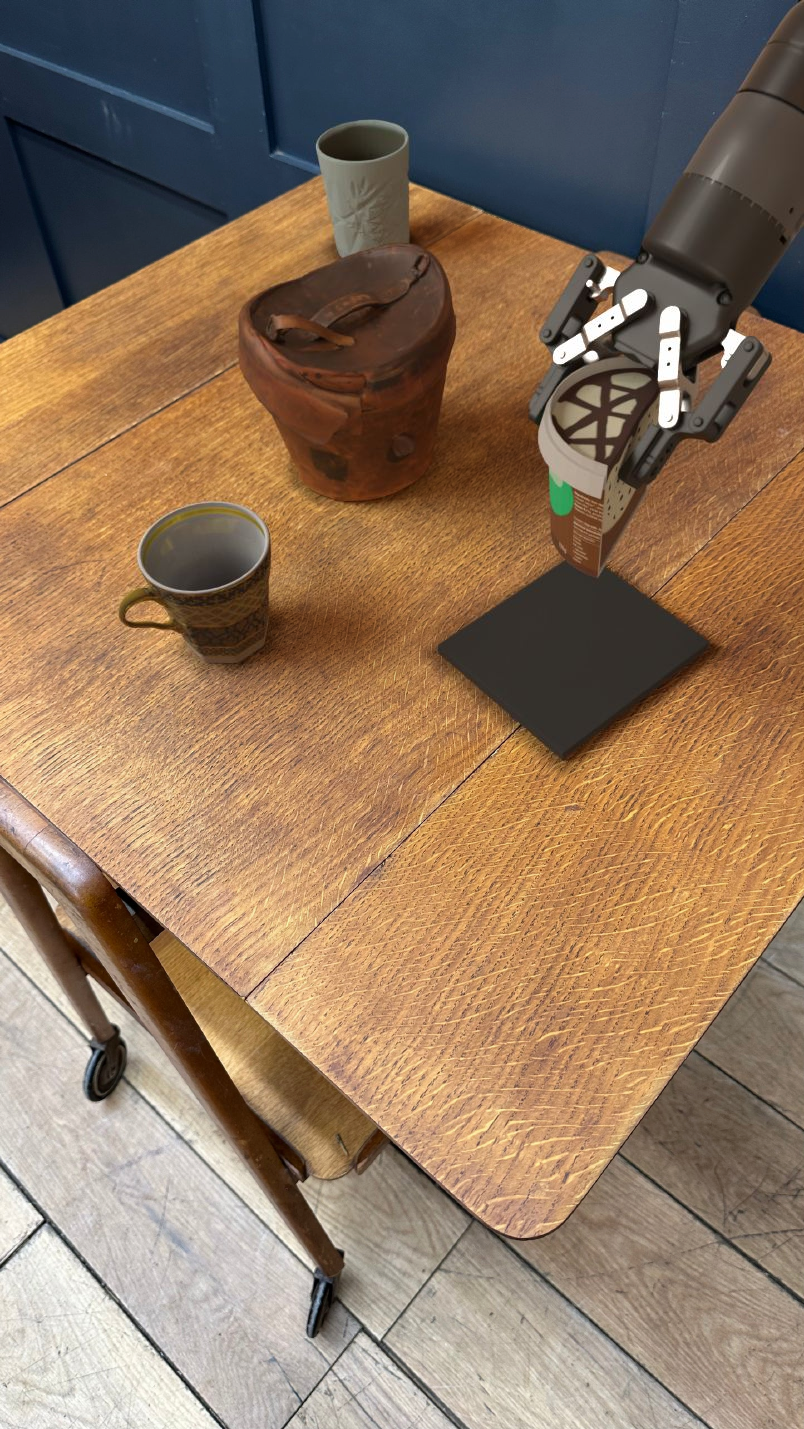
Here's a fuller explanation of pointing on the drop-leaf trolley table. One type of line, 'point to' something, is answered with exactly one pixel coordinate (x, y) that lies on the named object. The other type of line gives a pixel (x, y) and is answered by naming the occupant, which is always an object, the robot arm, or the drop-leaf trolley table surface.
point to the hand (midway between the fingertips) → (581, 453)
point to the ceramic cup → (208, 578)
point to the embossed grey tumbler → (366, 183)
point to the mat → (572, 653)
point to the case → (354, 367)
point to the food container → (595, 456)
